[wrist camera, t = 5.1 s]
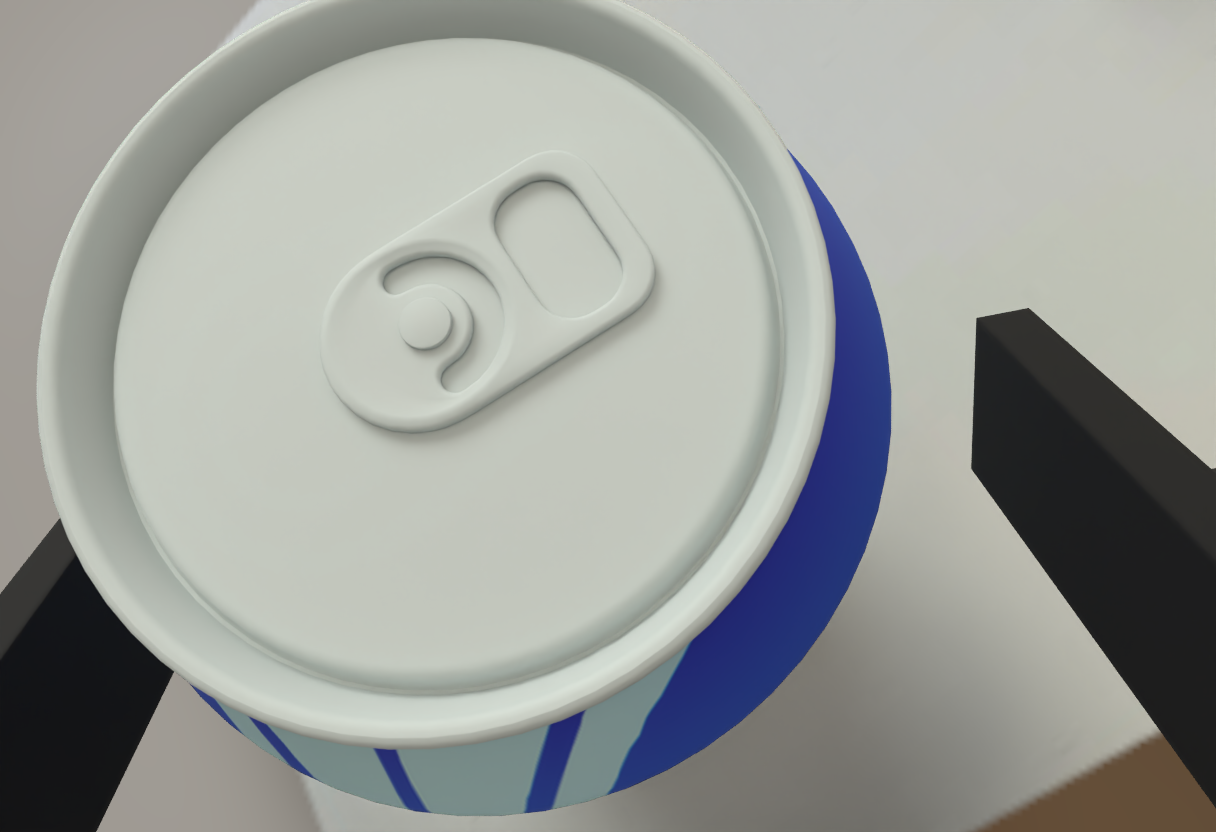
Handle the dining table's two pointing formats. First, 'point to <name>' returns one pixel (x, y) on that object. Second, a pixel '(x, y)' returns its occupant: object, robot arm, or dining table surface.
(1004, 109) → the dining table surface
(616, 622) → the beer can
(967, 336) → the dining table surface
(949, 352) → the dining table surface
